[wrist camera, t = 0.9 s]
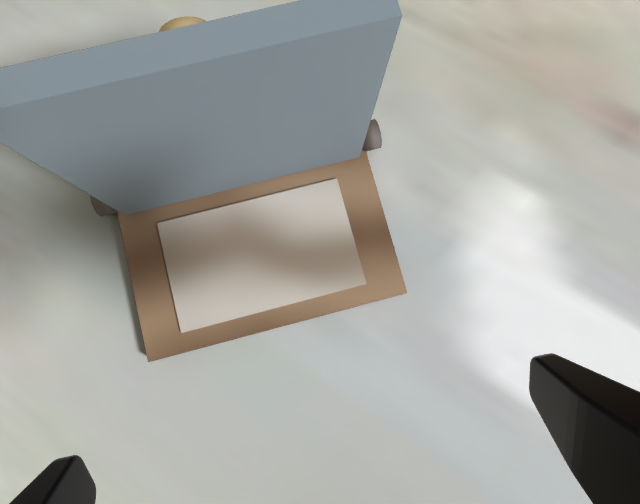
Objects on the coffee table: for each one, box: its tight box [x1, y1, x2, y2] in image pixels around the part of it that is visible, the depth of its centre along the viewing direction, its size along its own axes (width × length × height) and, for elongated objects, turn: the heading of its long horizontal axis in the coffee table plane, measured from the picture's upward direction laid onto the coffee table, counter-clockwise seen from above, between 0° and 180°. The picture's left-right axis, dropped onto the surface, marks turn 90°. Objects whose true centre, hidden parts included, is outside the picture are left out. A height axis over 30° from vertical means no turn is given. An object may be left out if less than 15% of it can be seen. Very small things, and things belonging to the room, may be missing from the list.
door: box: [0, 0, 402, 215], centre depth 20 cm, size 2×13×12 cm, turn 105°
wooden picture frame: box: [90, 119, 407, 362], centre depth 25 cm, size 10×16×2 cm, turn 105°
